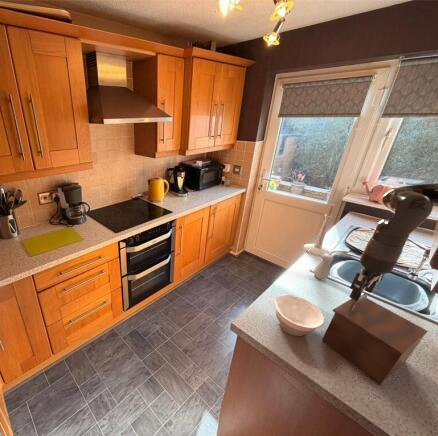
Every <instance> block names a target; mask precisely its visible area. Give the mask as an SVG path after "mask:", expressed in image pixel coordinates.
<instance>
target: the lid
mask: <svg viewBox="0 0 438 436" xmlns="http://www.w3.org/2000/svg"><path fill="white" fill-rule="evenodd" d="M332 312H333V313H334V314H335V313H336V314H338V315H339V316H341V317H342V318H344V319H346V320H347V321H349V322H350V323H352V324H353V325H355V326H356V327H358V328H360V329H361V330H363V331H364V332H366V333H367V334H369V335H370V336H372V337H373V338H375V339H377V340H378V341H380V342H381V343H383V344H384V345H386V346H387V347H389V348H391V349H392V350H394V351H395V352H397V353H398V354H400V355H402V354H403V353H404V352H405V351H407V350H408V349H409V348H410V347H411V346H412V345H413V344H414V343H416V342H417V341H418V340H419V339H420V338H421V337H422V336H423V335H424V336H426V335H427V333H428V330H427V329H425V328H423V327H421V326H419V325H417V324H416V323H414V322H412V321H410V320H409V319H407V318H404V317H403V316H401V315H399V314H397V313H395V312H393V311H391V309H388V308H386V307H384V306H382V304H381V305H380V304H379V303H377V302H375V301H373V300H371V299H369V298H368V296H367V294H366V293H364V292H362V294H361V296H360V298H359V300H358V301H355V300H353V299H351V298H350V299H348V300H347V301H345V302H343V303H341V304H339V305H338V306H336V307H334V308H333V309H332Z"/></svg>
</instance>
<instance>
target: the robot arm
mask: <svg viewBox="0 0 438 436" xmlns="http://www.w3.org/2000/svg"><path fill="white" fill-rule="evenodd" d="M381 204H382V206H383V207H384V208H385V209H387V210H388V211H390V212H391V213H393V215H392V216H391V218H390V219H382V220H380V221H379V222H378V223H377V225H376V226H375V229H374V230H373V233H372V234H371V237H370V238H369V240H368V241H367V243H366V246H365V248H364V249H363V252H362V253H361V256H360V259H359V263H360V265H361V266H362V267H363V268H362V269H361V270H360V272H357V273H355V277H354V278H353V280H352V282H351V284H350V285H349V289H350V290H351V292H350V294H349V298H350V299H353V300H355V301H358V300H359V298H360V296H361V294H362V293H364V292H367V293H369V294H370V293H373V291H374V290H375V287H376V285H378V284H379V283H380V282H381V281H383V278H384V277H385V274H390V273H392V272H393V270H394V269H395V266H396V264H397V263H398V261H399V260H400V257H401V255H402V252H403V250H404V247H405V246H406V243H407V241H408V240H409V238H410V236H411V234H412V233H413V232H414V231H415V230H416V229H418V227H420V226H421V224H422V223H424V222H425V221H426V220H427V219H428V218H429V217H430V215H431V214H432V212H433V208H434V207H436V208H438V182H435V183H423V184H422V183H421V184H411V185H404V186H400V187H396V188H393V189H391V190H389V191H387V192H386V193H385V194H384V195H383V196H382V198H381Z"/></svg>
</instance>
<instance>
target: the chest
mask: <svg viewBox="0 0 438 436" xmlns="http://www.w3.org/2000/svg"><path fill="white" fill-rule="evenodd" d="M424 337H425V335H423V336H422V337H421V338H420V339H419V340H418V341H417V342H416V343H414V344H413V345H412V346H411V347H410V348H409V349H408V350H407V351H405V352H404V353H403V354H402V355H400V354H398V353H397V352H395V351H394V350H392V349H391V348H389V347H387V346H386V345H384V344H383V343H381V342H380V341H378V340H377V339H375V338H373V337H372V336H370V335H369V334H367V333H366V332H364V331H363V330H361V329H360V328H358V327H356V326H355V325H353V324H352V323H350V322H349V321H347V320H346V319H344V318H342V317H341V316H339V315H338V314H336V313H335V312H334V314H333V315H332V318H331V320H330V322H329V324H328V327H327V329H326V331H325V332H324V335H323V337H322V339H321V342H323V343H324V344H325V345H326V346H327V347H329V348H330V349H332V350H333V351H334V352H335V353H337V354H338V355H339V356H341V357H342V358H343V359H345V360H346V362H348V363H350V364H351V365H352V366H354V367H355V368H356V369H358V370H359V371H360V372H362V374H364V375H365V376H367V377H368V378H369V379H370V380H372V381H373V382H374V383H375V384H376V385H378V386H382V384H383V383H384V382H386V381H387V380H388V379H389V378H390V377H391V376H392V375H393V374H394V373H395V372H396V371H398V370H399V369H400V368H401V367H402V366H403V365H404V364H406V362H407V361H408V359H409V358H410V356H411V355H412V354H413V352H414V351H415V349H416V348H417V346H418V345H419V344H420V342H421V341H422V340H423V338H424Z"/></svg>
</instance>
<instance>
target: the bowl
mask: <svg viewBox="0 0 438 436" xmlns="http://www.w3.org/2000/svg"><path fill="white" fill-rule="evenodd" d="M273 305H274V309H275V316H276V318H277V320H278V322H279V325H280V327H281V329H282V330H283V331H285V332H286V333H287V334H290V335H291V336H293V337H294V336H295V337H302V336H304V335H308V334H311V333H313V332H314V331H315V330H317V329H318V328H319V329H320V328H321V327H322V326H323V325H325V324H324V323H325V317H324V314H323V312H322V311H321V309H319V308H318V306H317V305H315V304H313V303H312V302H311V301H309V300H307V299H305V298H303V297H300V296H298V295H293V294H281V295H278V296H276V297H275V299H274V300H273Z"/></svg>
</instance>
